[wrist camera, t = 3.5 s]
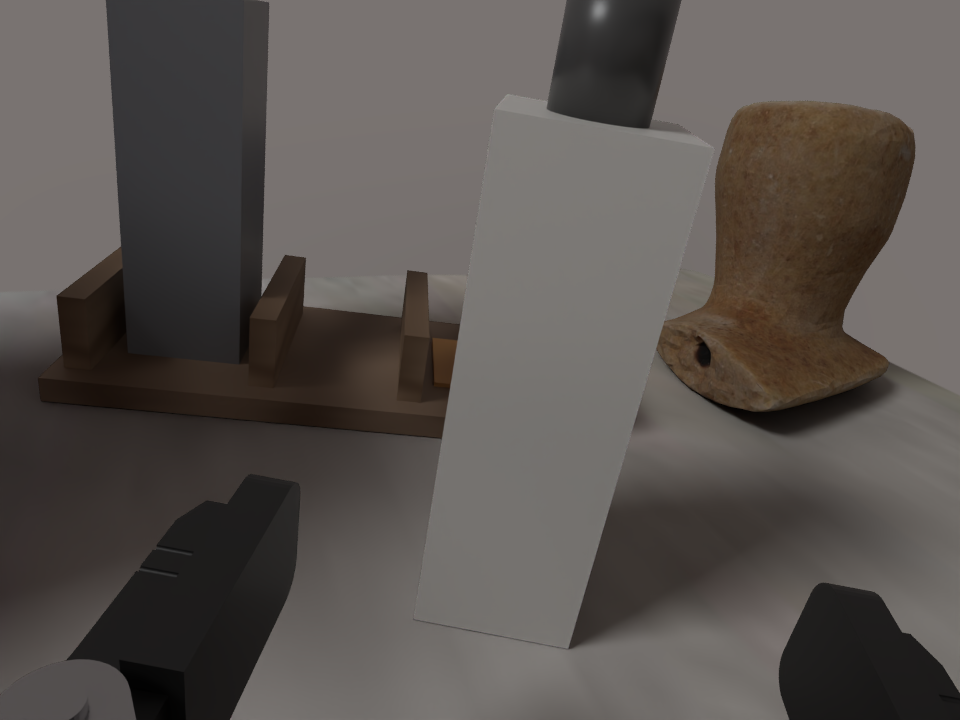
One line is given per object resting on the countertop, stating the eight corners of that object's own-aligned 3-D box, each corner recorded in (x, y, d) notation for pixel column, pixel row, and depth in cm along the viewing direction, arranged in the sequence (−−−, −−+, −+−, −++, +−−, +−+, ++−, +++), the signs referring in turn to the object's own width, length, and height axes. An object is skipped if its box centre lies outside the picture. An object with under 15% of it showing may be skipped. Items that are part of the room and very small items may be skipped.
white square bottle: (565, 546, 24) (712, -5, 17) (567, 649, 20) (763, -20, 13) (436, 521, 24) (528, -37, 17) (413, 619, 20) (521, -62, 13)
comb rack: (552, 352, 39) (567, 284, 37) (592, 451, 30) (614, 368, 28) (135, 305, 36) (131, 229, 34) (40, 400, 27) (28, 304, 25)
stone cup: (736, 316, 50) (811, 95, 44) (903, 393, 42) (1025, 135, 35) (585, 342, 41) (652, 69, 35) (759, 446, 33) (887, 114, 27)
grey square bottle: (260, 323, 34) (271, -85, 27) (239, 364, 30) (245, -104, 23) (163, 312, 33) (147, -109, 26) (127, 353, 29) (98, -132, 22)
